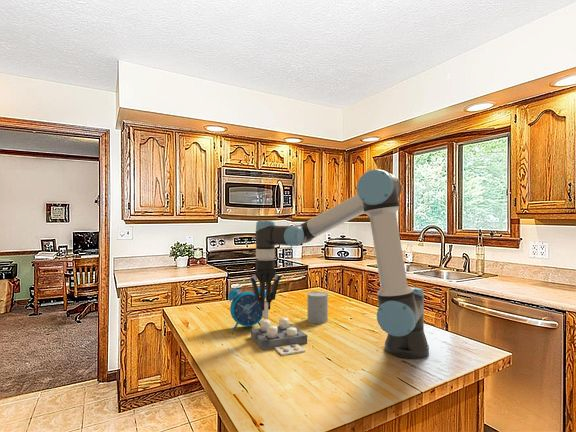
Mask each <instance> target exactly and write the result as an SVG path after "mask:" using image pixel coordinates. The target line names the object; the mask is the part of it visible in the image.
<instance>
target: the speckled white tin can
mask: <svg viewBox="0 0 576 432" xmlns="http://www.w3.org/2000/svg"><path fill="white" fill-rule="evenodd" d="M306 295H307V322H309V323H311V324H325V323H328V321H329V320H328V318H329V317H328V316H329V313H328V312H329V309H328V308H329V303H328V302H329V299H328V295H329V294H328V293H327V292H323V291H311V292H307V294H306Z"/></svg>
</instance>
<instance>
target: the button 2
mask: <svg viewBox="0 0 576 432" xmlns="http://www.w3.org/2000/svg"><path fill="white" fill-rule="evenodd" d="M277 326H278V325H270V326H268V327H267V337H268V338H276V337H278V327H277Z"/></svg>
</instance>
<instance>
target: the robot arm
mask: <svg viewBox="0 0 576 432" xmlns="http://www.w3.org/2000/svg"><path fill="white" fill-rule="evenodd" d="M356 193H357V194H355V195H353V196H351V197H350V198H347V199H345V200H344V201H342V202H340V203H337V204H336V205H335V206H332V207H331V208H329V209H326V210H325V211H323V212H320V213H319V214H317V215H316V216H314V217H312V218H310V219H308V220H307V221H305V222H303V223H301V224H298V225H276V223H275V221H274V220H258V221H256V225H255V226H256V227H255V258H256V260H255V272H254V275H252V276H250V277H249V279H248V280H249V281H250V282H252V283H251V285H252V289H253V293H254V294H255V298H256V300H257V301H259V302H260V309H261V310H263V317H262V319H263V320H269V311H270V310H271V303H272V301H274V300H275V299H276V297H277V291H278V286H279V283H280V281H281V279H282V277H281V275H279V274H277V272H276V270H275V269H276V268H275V267H276V264H275V262H276V261H275V257H276V256H275V254H276V253H275V252H276V251H275V250H276V248H275V247H276V246H289V247H296V246H297V247H298V246H301V244H307V243H310V242H311V241H313V240H314V239H315V238H317V237H318V236H321V235H322V234H325V233H326V232H329V231H330V230H332V229H335V228H337V227H339V226H341V225H342V224H344V223H345V224H346V222H348V221H350V220H351V221H352V220H353V219H355V218H357V217H358V216H360V215H363V214H366V215H367V216H368V217H369V221H370V228H371V235H372V240H373V247H374V252H375V253H374V254H375V259H376V260H375V261H376V266H377V272H378V278H379V284H380V289H378V291H377V293H376V295H377V301H378V303H377V304H378V307H377V312H376V320H377V323H378V326H379V327H380V328H381V329H382V331H384V333H386V334H387V335H386V339H385V341H384V350H385V351H386V352H388V353H389V354H390V355H393V356H396V357H398V358H399V357H400V358H403V359H410V360H411V359H413V360H414V359H415V360H416V359H422V358H423V359H424V358H426V357H428V355H430V347H429V344H428V341H427V336H426V334H425V331H424V329H425V328H424V327H425V326H424V325H425V323H424V322H425V321H424V319H425V318H424V314H425V313H424V312H425V311H424V305H425V304H424V299H425V295H424V294H425V293H424V290H423V289H422V288H419V287H416V286H415V287H413V286H409V285H408V280H407V274H406V268H405V266H406V265H405V261H404V255H403V250H402V249H403V248H402V242H401V237H400V230H399V224H398V218H397V212H398V210H399V209H400V201H399V198H400V196H401V193H402V184H401V181H400V180H399V178H398V177H397V176H396V175H394V174H393V173H390V172H388V171H387V170H384V169H377V168H376V169H370V170H368V171H366V172H363V174H362V175H361V176H360V177H359V179H358V181H357V184H356ZM257 280H258V282H259V287H260V295H259V292H258V287H257V286H258V284H257ZM272 281H273V283H272ZM265 291H266V298H265Z"/></svg>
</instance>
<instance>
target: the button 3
mask: <svg viewBox="0 0 576 432" xmlns="http://www.w3.org/2000/svg"><path fill="white" fill-rule="evenodd" d="M289 324H290V318H289V317H280V318H279V319H278V326H279V328H280V329H287V328H289Z"/></svg>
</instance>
